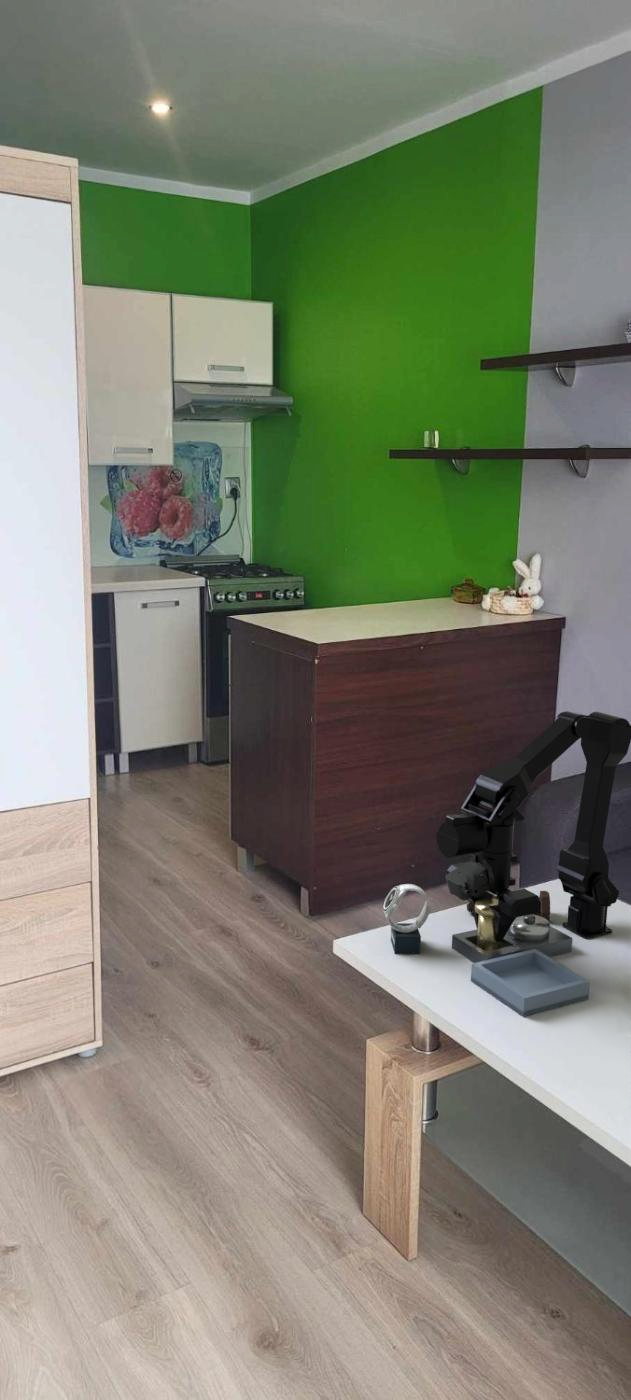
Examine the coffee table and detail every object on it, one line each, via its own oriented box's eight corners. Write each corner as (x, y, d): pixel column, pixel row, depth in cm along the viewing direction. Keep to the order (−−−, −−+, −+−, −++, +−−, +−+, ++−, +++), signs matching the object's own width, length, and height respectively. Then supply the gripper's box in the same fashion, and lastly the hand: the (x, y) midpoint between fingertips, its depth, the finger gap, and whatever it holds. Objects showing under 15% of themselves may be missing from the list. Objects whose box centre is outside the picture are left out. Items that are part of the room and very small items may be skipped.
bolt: (466, 921, 199) (547, 924, 198) (467, 917, 195) (550, 921, 193) (466, 890, 201) (547, 893, 199) (467, 886, 196) (549, 888, 195)
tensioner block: (533, 930, 191) (535, 901, 190) (571, 951, 183) (573, 921, 181) (451, 948, 183) (453, 918, 182) (487, 971, 174) (489, 940, 173)
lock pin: (491, 946, 184) (494, 896, 182) (510, 958, 179) (514, 907, 177) (465, 952, 181) (468, 901, 179) (485, 964, 177) (488, 912, 175)
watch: (379, 940, 185) (381, 880, 183) (425, 940, 186) (428, 880, 184) (383, 953, 180) (385, 892, 178) (430, 953, 180) (433, 892, 178)
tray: (533, 965, 177) (535, 948, 176) (588, 999, 166) (590, 981, 165) (470, 981, 171) (471, 963, 170) (523, 1016, 159) (524, 998, 159)
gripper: (422, 837, 181) (418, 924, 184) (491, 873, 165) (485, 967, 168) (475, 829, 186) (470, 913, 189) (546, 863, 170) (540, 954, 173)
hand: (489, 935), depth 180 cm, fingers closed on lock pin, 5 cm apart
